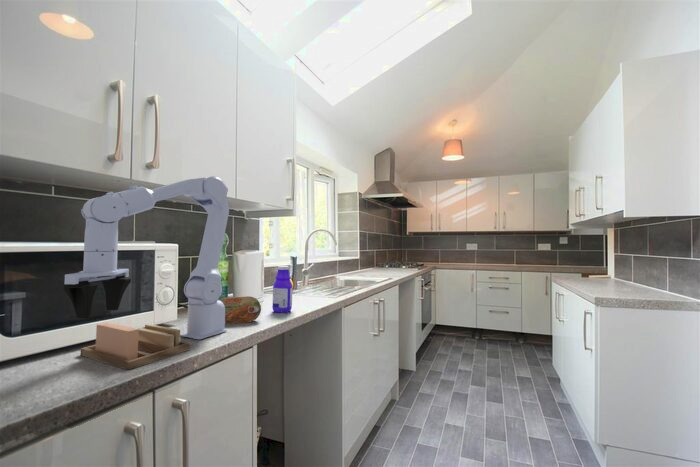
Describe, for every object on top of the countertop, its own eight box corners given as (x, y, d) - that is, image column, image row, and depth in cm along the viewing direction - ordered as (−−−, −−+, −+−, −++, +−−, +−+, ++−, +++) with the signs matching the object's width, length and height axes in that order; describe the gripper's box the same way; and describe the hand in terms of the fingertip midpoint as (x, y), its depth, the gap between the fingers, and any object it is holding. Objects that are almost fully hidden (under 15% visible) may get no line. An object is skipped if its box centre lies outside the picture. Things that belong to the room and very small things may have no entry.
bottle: (294, 310, 119) (295, 265, 120) (287, 313, 113) (288, 266, 114) (276, 309, 120) (277, 265, 121) (269, 312, 115) (271, 266, 116)
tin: (210, 324, 96) (211, 298, 97) (212, 322, 99) (213, 296, 100) (260, 322, 101) (261, 296, 101) (260, 320, 104) (261, 295, 104)
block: (105, 353, 70) (106, 322, 71) (137, 362, 65) (138, 329, 66) (95, 356, 69) (96, 324, 69) (127, 365, 64) (128, 331, 64)
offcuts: (147, 341, 79) (147, 323, 79) (182, 349, 73) (183, 330, 73) (133, 345, 76) (134, 326, 76) (169, 353, 70) (170, 334, 70)
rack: (143, 338, 81) (143, 333, 81) (190, 349, 73) (190, 343, 74) (80, 355, 69) (80, 348, 69) (128, 369, 61) (129, 362, 61)
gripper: (109, 250, 74) (107, 306, 74) (50, 251, 60) (47, 321, 59) (138, 250, 74) (136, 307, 74) (86, 252, 60) (83, 322, 59)
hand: (98, 313), depth 67 cm, fingers open, 7 cm apart
